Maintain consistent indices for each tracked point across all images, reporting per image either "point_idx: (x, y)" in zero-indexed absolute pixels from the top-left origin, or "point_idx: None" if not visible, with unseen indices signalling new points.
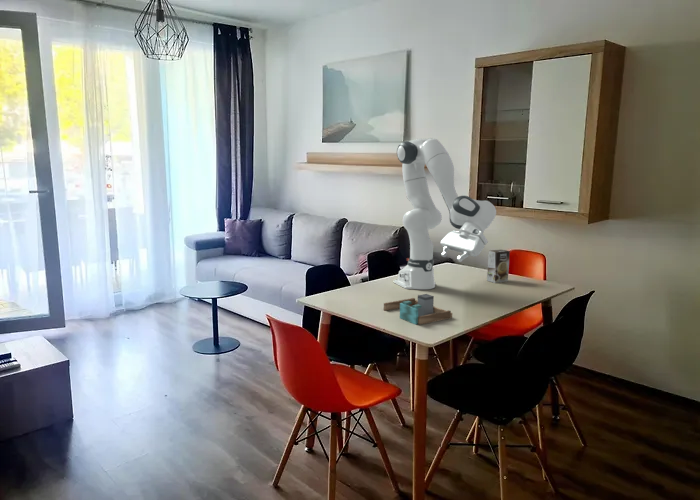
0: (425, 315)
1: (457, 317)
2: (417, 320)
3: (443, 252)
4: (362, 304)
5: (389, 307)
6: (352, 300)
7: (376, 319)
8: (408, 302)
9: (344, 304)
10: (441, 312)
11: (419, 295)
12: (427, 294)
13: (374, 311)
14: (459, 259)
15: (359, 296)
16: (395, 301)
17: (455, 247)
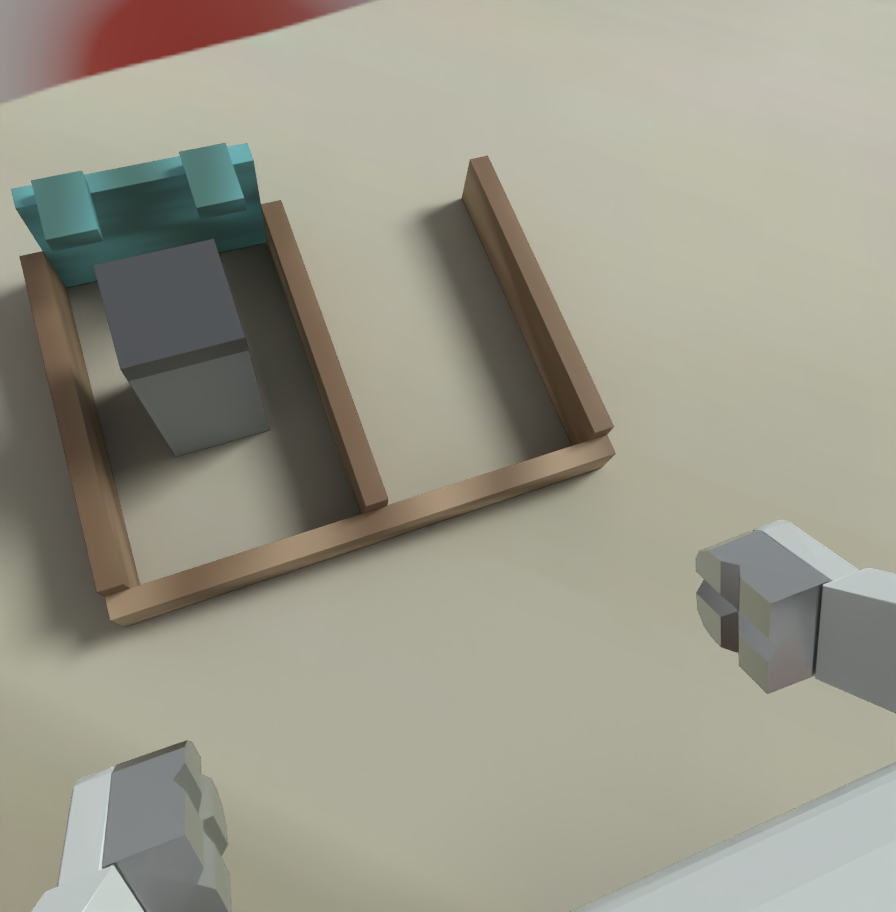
0: (49, 316)
1: (120, 683)
2: (53, 266)
3: (794, 565)
4: (642, 118)
5: (479, 218)
6: (746, 93)
7: (274, 87)
8: (187, 177)
9: (653, 27)
10: (83, 484)
11: (203, 250)
12: (216, 338)
13: (460, 133)
14: (78, 787)
15: (849, 161)
16: (521, 248)
17: (613, 892)
